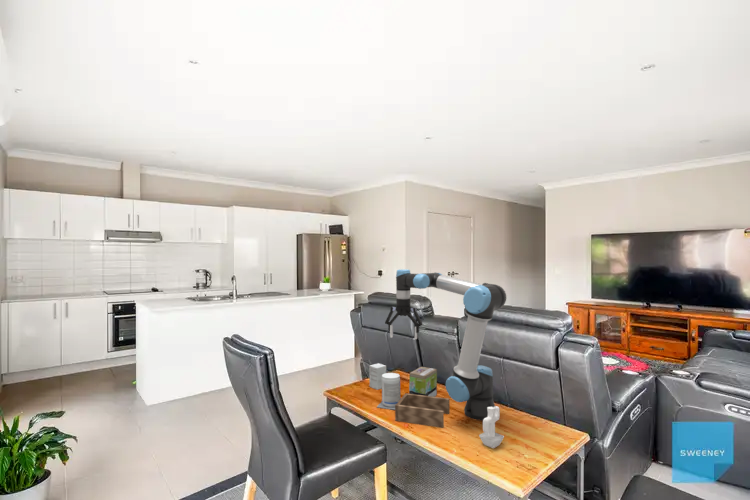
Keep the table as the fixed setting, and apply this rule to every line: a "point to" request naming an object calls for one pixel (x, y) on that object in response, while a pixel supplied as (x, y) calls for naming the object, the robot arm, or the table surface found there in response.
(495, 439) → the figurine
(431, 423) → the walnut box
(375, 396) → the table surface
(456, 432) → the table surface
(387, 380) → the supplement tub
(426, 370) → the tea box
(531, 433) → the table surface
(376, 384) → the supplement box
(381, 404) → the grey mat
